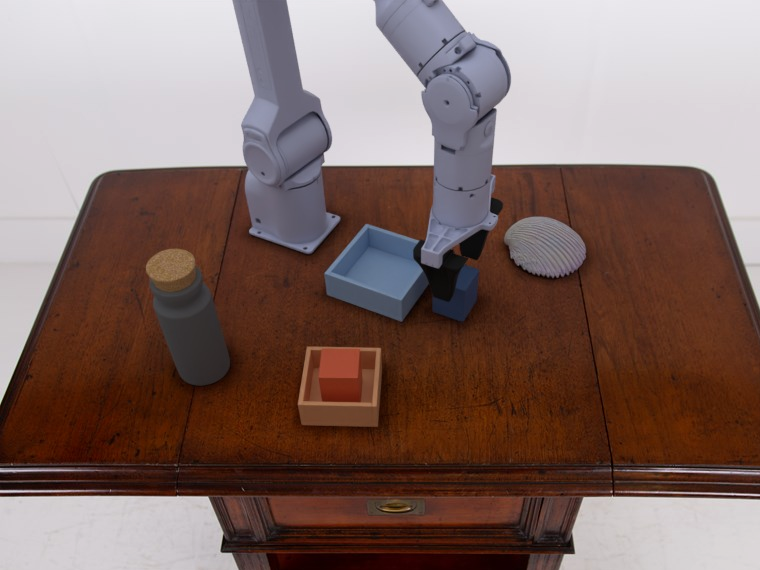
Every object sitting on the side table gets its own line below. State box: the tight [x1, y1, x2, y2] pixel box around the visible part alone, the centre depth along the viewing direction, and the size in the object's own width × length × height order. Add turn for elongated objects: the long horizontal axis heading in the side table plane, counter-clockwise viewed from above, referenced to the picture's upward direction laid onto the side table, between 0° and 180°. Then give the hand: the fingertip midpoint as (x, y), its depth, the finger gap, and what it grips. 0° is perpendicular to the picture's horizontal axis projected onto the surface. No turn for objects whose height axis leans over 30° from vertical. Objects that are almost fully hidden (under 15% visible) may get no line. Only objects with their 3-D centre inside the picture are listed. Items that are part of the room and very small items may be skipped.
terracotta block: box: [318, 348, 363, 403], centre depth 79 cm, size 4×4×5 cm
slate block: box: [431, 264, 480, 323], centre depth 88 cm, size 4×4×5 cm
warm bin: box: [297, 346, 383, 428], centre depth 80 cm, size 8×8×4 cm
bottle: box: [145, 248, 231, 387], centre depth 79 cm, size 6×6×15 cm
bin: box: [323, 223, 429, 323], centre depth 91 cm, size 10×10×4 cm
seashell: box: [503, 216, 587, 279], centre depth 94 cm, size 10×6×10 cm
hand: (456, 276), depth 86 cm, fingers open, 7 cm apart
